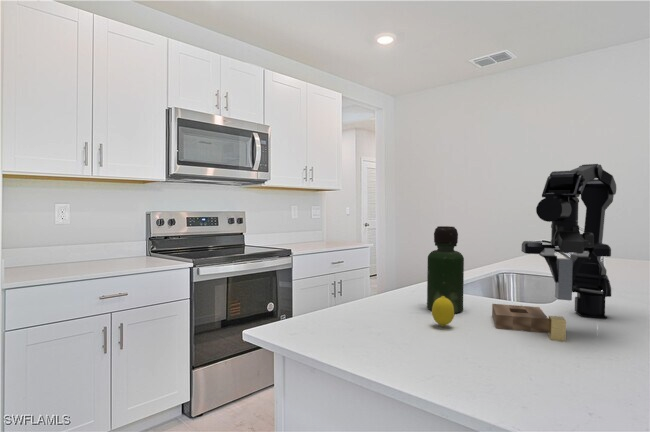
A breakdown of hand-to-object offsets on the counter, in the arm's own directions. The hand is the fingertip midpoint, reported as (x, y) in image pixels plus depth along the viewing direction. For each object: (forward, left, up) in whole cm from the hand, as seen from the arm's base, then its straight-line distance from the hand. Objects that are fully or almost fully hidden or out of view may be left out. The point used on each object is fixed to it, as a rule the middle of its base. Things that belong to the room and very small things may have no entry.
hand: (563, 282), depth 102 cm
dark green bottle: (+29, -11, -12) cm, 33 cm away
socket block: (+10, -2, -12) cm, 16 cm away
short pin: (+3, +8, -12) cm, 15 cm away
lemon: (+29, +7, -12) cm, 32 cm away
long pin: (0, 0, -4) cm, 4 cm away
